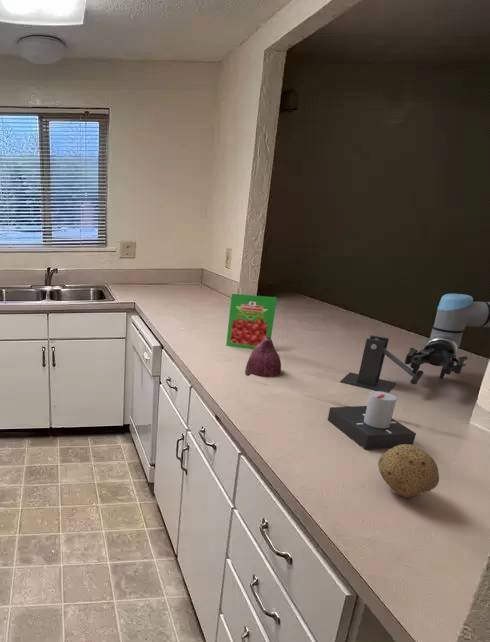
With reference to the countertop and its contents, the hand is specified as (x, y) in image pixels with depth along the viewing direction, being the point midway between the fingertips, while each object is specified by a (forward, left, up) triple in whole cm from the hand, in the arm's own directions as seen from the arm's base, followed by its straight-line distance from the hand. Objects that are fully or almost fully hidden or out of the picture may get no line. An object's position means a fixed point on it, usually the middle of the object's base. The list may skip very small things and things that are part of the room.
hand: (428, 371), depth 114 cm
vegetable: (+23, +33, -9) cm, 42 cm away
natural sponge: (-37, +34, -9) cm, 51 cm away
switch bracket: (+11, +7, -9) cm, 16 cm away
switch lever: (+8, +4, 0) cm, 9 cm away
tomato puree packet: (+49, +27, -9) cm, 57 cm away
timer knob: (-17, +25, -5) cm, 31 cm away
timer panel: (-15, +25, -9) cm, 31 cm away
